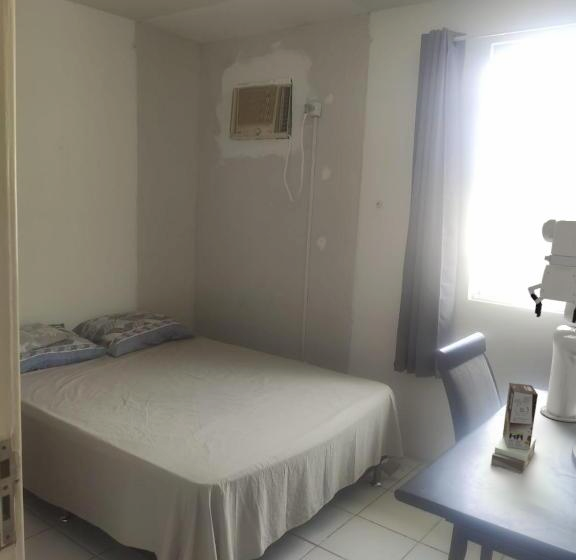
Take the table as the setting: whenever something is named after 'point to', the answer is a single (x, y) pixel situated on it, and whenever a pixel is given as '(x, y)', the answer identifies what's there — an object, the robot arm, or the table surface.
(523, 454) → the pale green tile
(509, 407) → the coffee box
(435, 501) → the table surface
